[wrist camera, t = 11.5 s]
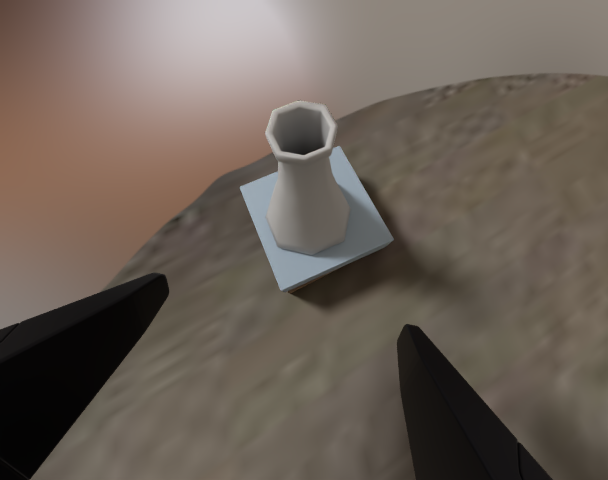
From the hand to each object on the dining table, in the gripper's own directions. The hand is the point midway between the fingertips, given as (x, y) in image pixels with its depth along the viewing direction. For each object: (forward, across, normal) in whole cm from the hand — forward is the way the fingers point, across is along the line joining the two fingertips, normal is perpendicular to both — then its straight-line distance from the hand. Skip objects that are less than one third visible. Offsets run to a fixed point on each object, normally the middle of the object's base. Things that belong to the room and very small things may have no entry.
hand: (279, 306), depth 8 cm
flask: (+12, +1, +2) cm, 12 cm away
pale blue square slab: (+14, 0, +3) cm, 14 cm away
